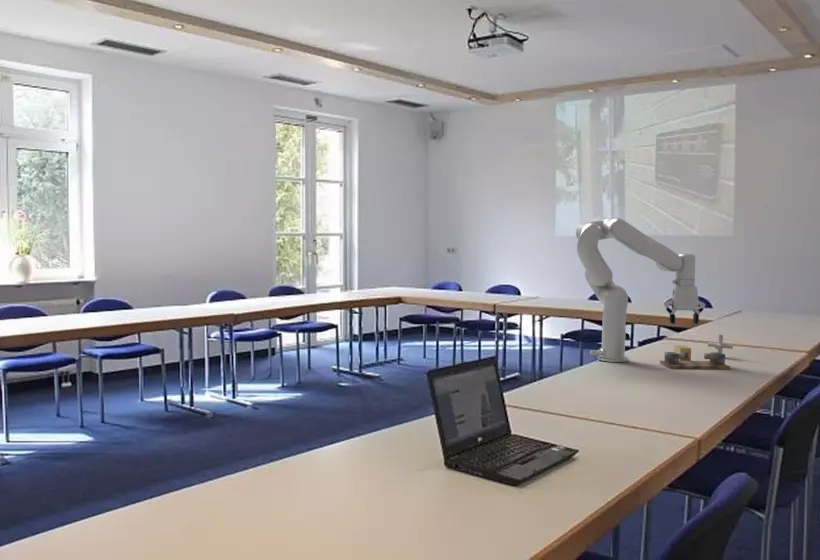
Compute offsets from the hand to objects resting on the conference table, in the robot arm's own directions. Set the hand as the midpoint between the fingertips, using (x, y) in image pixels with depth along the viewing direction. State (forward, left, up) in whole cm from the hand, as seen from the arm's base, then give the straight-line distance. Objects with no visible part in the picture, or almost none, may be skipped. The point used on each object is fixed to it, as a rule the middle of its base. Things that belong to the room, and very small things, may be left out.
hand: (684, 323), depth 313 cm
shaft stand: (0, -13, -16) cm, 21 cm away
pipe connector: (+20, +10, -16) cm, 28 cm away
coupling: (0, 0, -16) cm, 16 cm away
